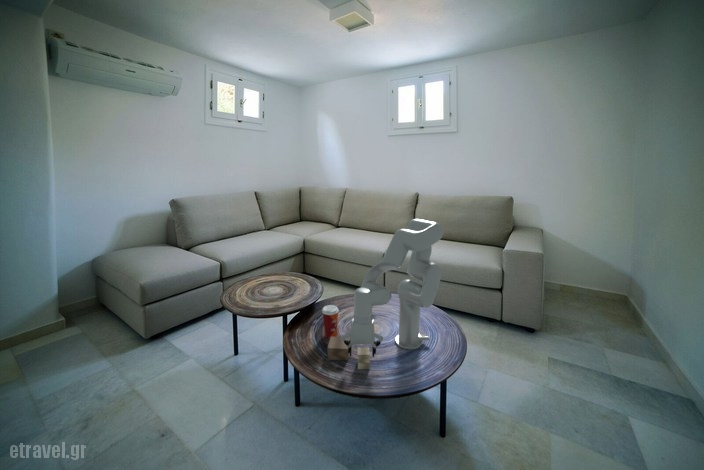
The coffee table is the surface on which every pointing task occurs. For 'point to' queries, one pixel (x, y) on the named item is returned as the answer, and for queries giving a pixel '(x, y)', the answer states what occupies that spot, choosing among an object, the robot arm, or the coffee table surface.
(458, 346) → the coffee table surface
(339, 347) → the tan wooden cube
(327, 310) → the coffee cup
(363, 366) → the oak block
